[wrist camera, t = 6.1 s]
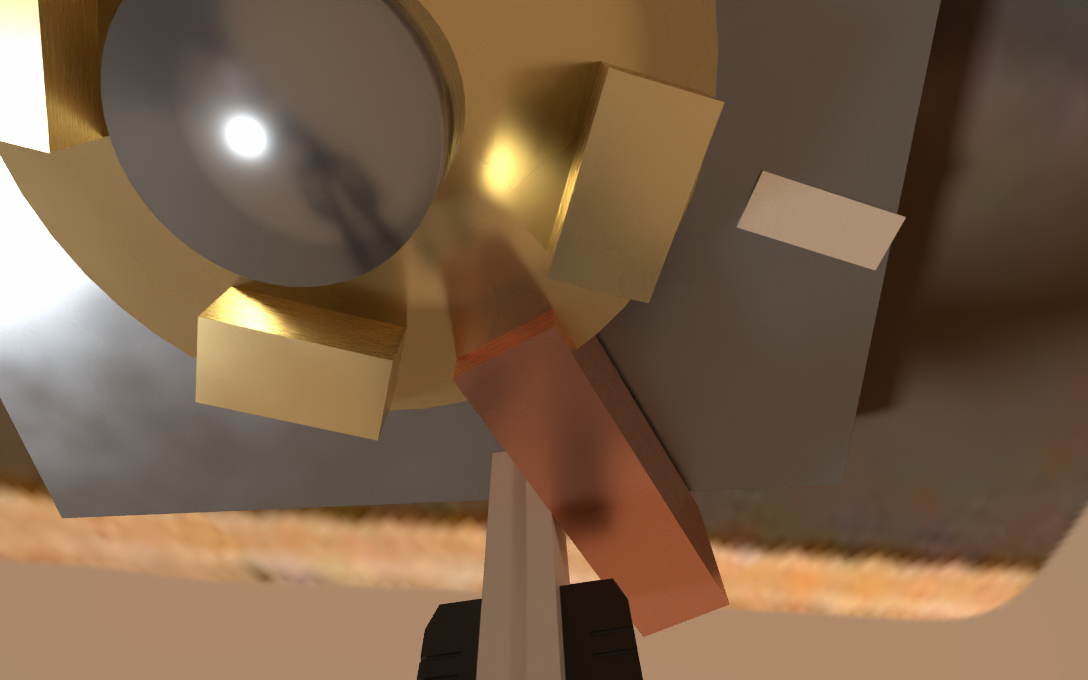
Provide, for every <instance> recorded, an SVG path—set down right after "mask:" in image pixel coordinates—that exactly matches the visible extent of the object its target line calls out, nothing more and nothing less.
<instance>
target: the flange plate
mask: <svg viewBox="0 0 1088 680" xmlns="http://www.w3.org/2000/svg"><path fill="white" fill-rule="evenodd" d="M940 3H941V0H715V5H716V21H717V36H718V63H717V81H716V98H717V99H719V100H721V101H723V102H725V103H724V105H723V108H722V111H721V113H720V116H719V118H718V121H717V124H716V126H715V129H714V132H713V134H712V137H711V140H710V142H709V145H708V148H707V150H706V154H705V157H704V160H703V163H702V167H701V170H700V173H699V176H698V179H697V183H696V186H695V189H694V192H693V196H692V198H691V200H690V202H689V205H688V207H687V209H686V211H685V213H684V216H683V218H682V220H681V222H680V224H679V227H678V229H677V231H676V233H675V236H674V238H673V240H672V243H671V246H670V248H669V251H668V254H667V256H666V259H665V262H664V264H663V267H662V270H661V272H660V275H659V278H658V280H657V283H656V286H655V288H654V291H653V293H652V296H651V299H650V301H649V303H645V302H641V301H637V300H633V299H631V300H630V301H629V302H628V304H627V305H626V306H625V307H624V308H623V309H622V310H621V311H620V312H619V313H618V314H617V315H616V316H615V317H614V318H613V319H612V320H611V321H610V322H609V323H608V324H607V325H606V326H605V327H604V328H603V329H602V330H600V331H599V332H598V333H597V334H596V335H595V336H596V337H597V339H598V341H599V342H600V344H601V346H602V347H603V349H604V351H605V352H606V354H607V356H608V357H609V359H610V361H611V362H612V364H613V366H614V367H615V369H616V371H617V372H618V374H619V376H620V377H621V379H622V381H623V382H624V384H625V386H626V387H627V389H628V391H629V392H630V394H631V396H632V397H633V399H634V401H635V402H636V404H637V406H638V407H639V409H640V411H641V412H642V414H643V416H644V417H645V419H646V421H647V422H648V424H649V426H650V427H651V429H652V431H653V432H654V434H655V436H656V437H657V439H658V440H659V442H660V444H661V445H662V447H663V449H664V450H665V452H666V454H667V455H668V457H669V459H670V460H671V462H672V464H673V465H674V467H675V469H676V470H677V472H678V474H679V475H680V477H681V479H682V480H683V482H684V484H685V485H686V487H687V489H688V490H689V491H704V490H727V489H750V488H773V487H796V486H820V485H842V480H843V475H844V470H845V465H846V460H847V456H848V451H849V446H850V441H851V436H852V431H853V426H854V422H855V417H856V412H857V407H858V402H859V397H860V392H861V387H862V383H863V378H864V373H865V368H866V363H867V358H868V353H869V348H870V344H871V339H872V334H873V329H874V324H875V319H876V314H877V309H878V305H879V300H880V295H881V290H882V285H883V280H884V275H885V270H886V266H887V261H888V256H889V251H890V246H891V243H892V241H893V239H894V237H895V236H896V234H897V232H898V230H899V229H900V227H901V225H902V224H903V222H904V220H905V218H906V217H905V216H902V215H899V214H897V212H898V207H899V202H900V197H901V193H902V188H903V183H904V178H905V173H906V168H907V163H908V158H909V154H910V149H911V144H912V139H913V134H914V129H915V124H916V119H917V115H918V110H919V105H920V100H921V95H922V90H923V85H924V80H925V76H926V71H927V66H928V61H929V56H930V51H931V46H932V41H933V37H934V32H935V27H936V22H937V17H938V12H939V7H940ZM101 99H102V105H103V112H104V118H105V122H106V126H107V129H108V133H109V136H110V140H111V143H112V145H113V148H114V150H115V153H116V155H117V158H118V160H119V162H120V165H121V167H122V168H123V170H124V172H125V174H126V176H127V177H128V179H129V181H130V183H131V185H132V186H133V188H134V189H135V191H136V192H137V193H138V195H139V196H140V198H141V199H142V201H143V202H144V204H145V205H146V206H147V207H148V208H149V209H150V211H151V212H152V213H153V214H154V215H155V216H156V218H157V219H158V220H159V221H160V222H161V223H162V224H163V225H164V226H165V227H166V228H167V229H168V230H169V231H170V232H171V233H172V234H173V235H174V236H176V237H177V238H178V239H179V240H181V241H182V242H183V243H184V244H186V245H187V246H188V247H190V248H191V249H192V250H193V251H195V252H196V253H198V254H200V255H201V256H203V257H204V258H206V259H208V260H209V261H211V262H212V263H214V264H216V265H218V266H221V267H223V268H225V269H227V270H229V271H231V272H233V273H236V274H238V275H241V276H244V277H247V278H249V279H252V280H256V281H261V282H265V283H269V284H274V285H281V286H289V287H315V286H324V285H331V284H335V283H339V282H343V281H347V280H350V279H353V278H355V277H358V276H360V275H363V274H365V273H367V272H369V271H371V270H372V269H374V268H376V267H378V266H379V265H381V264H382V263H384V262H385V261H386V260H388V259H389V258H390V257H392V256H393V255H394V254H395V253H396V252H397V251H398V250H399V249H400V248H401V247H402V246H403V245H404V244H405V243H406V242H407V241H408V240H409V239H410V237H411V236H412V235H413V233H414V232H415V231H416V229H417V228H418V226H419V225H420V223H421V221H422V220H423V218H424V216H425V214H426V213H427V211H428V209H429V207H430V205H431V204H432V202H433V200H434V198H435V196H436V195H437V193H438V191H439V189H440V187H441V186H442V184H443V182H444V180H445V178H446V177H447V175H448V173H449V171H450V169H451V167H452V165H453V164H454V162H455V159H456V157H457V154H458V151H459V148H460V146H461V141H462V137H463V132H464V124H465V94H464V88H463V82H462V77H461V74H460V70H459V67H458V63H457V60H456V58H455V55H454V53H453V51H452V48H451V46H450V44H449V42H448V40H447V38H446V37H445V35H444V33H443V31H442V30H441V28H440V26H439V25H438V24H437V22H436V21H435V20H434V18H433V17H432V16H431V14H430V13H429V12H428V11H427V10H426V8H425V7H424V6H423V5H422V4H421V3H420V2H419V1H418V0H123V1H122V2H121V4H120V6H119V7H118V9H117V11H116V13H115V16H114V18H113V20H112V23H111V25H110V27H109V30H108V34H107V37H106V41H105V45H104V49H103V55H102V64H101ZM196 367H197V360H196V359H194V358H192V357H191V356H189V355H188V354H186V353H184V352H183V351H181V350H180V349H178V348H177V347H175V346H173V345H172V344H170V343H169V342H167V341H165V340H164V339H162V338H161V337H159V336H157V335H156V334H154V333H153V332H152V331H151V330H149V329H148V328H147V327H145V326H144V325H143V324H142V323H140V322H139V321H138V320H136V319H135V318H134V317H133V316H131V315H130V314H129V313H127V312H126V311H125V310H123V309H122V308H121V307H120V306H118V305H117V304H116V303H115V302H114V301H113V300H112V299H111V298H110V297H109V296H108V295H107V294H106V293H105V292H104V291H102V290H101V289H100V288H99V287H98V286H97V285H96V284H95V283H94V282H93V281H92V280H91V279H90V278H89V277H88V276H87V275H86V274H84V272H83V271H82V270H81V269H80V268H79V267H78V266H77V264H76V263H75V262H74V261H73V260H72V259H71V258H70V256H69V255H68V254H67V253H66V252H65V251H64V250H63V248H62V247H61V246H60V245H59V244H58V243H57V242H56V240H55V239H54V238H53V237H52V236H51V234H50V233H49V232H48V230H47V229H46V227H45V226H44V225H43V223H42V222H41V220H40V219H39V218H38V216H37V215H36V213H35V212H34V211H33V209H32V208H31V206H30V205H29V204H28V202H27V201H26V199H25V198H24V197H23V195H22V194H21V192H20V190H19V188H18V187H17V185H16V183H15V181H14V180H13V178H12V176H11V174H10V172H9V171H8V169H7V167H6V165H5V164H4V162H3V160H2V158H1V157H0V398H1V400H2V402H3V404H4V406H5V408H6V410H7V411H8V413H9V415H10V417H11V419H12V421H13V423H14V425H15V427H16V429H17V431H18V433H19V435H20V437H21V439H22V441H23V443H24V445H25V446H26V448H27V450H28V452H29V454H30V456H31V458H32V460H33V462H34V464H35V466H36V468H37V470H38V472H39V474H40V476H41V478H42V480H43V481H44V483H45V485H46V487H47V489H48V491H49V493H50V495H51V497H52V499H53V501H54V503H55V505H56V507H57V509H58V511H59V513H60V515H61V516H62V518H78V517H102V516H125V515H148V514H171V513H194V512H217V511H241V510H264V509H287V508H310V507H333V506H356V505H380V504H403V503H426V502H449V501H472V500H489V495H490V481H491V468H492V454H493V453H499V452H505V450H504V448H503V447H502V446H501V444H500V443H499V442H498V440H497V439H496V438H495V436H494V435H493V434H492V432H491V431H490V429H489V428H488V427H487V425H486V424H485V423H484V421H483V420H482V419H481V417H480V416H479V415H478V413H477V412H476V411H475V409H474V408H473V407H472V405H471V404H470V403H469V401H468V400H467V401H464V402H460V403H454V404H448V405H442V406H436V407H431V408H425V409H407V410H389V412H388V415H387V418H386V420H385V423H384V426H383V428H382V431H381V434H380V436H379V439H378V441H377V440H373V439H368V438H363V437H358V436H354V435H349V434H344V433H340V432H335V431H330V430H325V429H321V428H316V427H311V426H306V425H302V424H297V423H292V422H287V421H283V420H278V419H273V418H269V417H264V416H259V415H254V414H250V413H245V412H240V411H235V410H231V409H226V408H221V407H216V406H212V405H207V404H202V403H198V402H195V401H196Z"/></svg>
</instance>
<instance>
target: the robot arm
mask: <svg viewBox="0 0 1088 680" xmlns="http://www.w3.org/2000/svg"><path fill="white" fill-rule="evenodd" d="M417 680H643V678H642V672H641V667H640V661H639V656H638V651H637V645H636V639H635V634H634V629H633V623H632V618H631V612H630V607H629V601H628V598H627V597H626V596H625V594H624V593H623V592H622V590H621V589H620V587H619V586H618V585H617V583H616V582H615V580H614V579H613V578H611V579H604V580H597V581H590V582H583V583H576V584H570V581H569V569H568V557H567V545H566V535H565V530H564V529H563V528H562V526H561V525H560V524H559V522H558V521H557V520H556V518H555V517H554V516H553V514H552V513H551V510H549V509H548V508H547V506H546V505H545V504H544V502H543V501H542V500H541V498H540V497H539V495H538V494H537V493H536V491H535V490H534V489H533V487H532V486H531V485H530V483H529V482H528V481H527V479H526V478H525V477H524V475H523V474H522V473H521V471H520V470H519V469H518V467H517V466H516V464H515V463H514V462H513V460H512V459H511V458H510V456H509V455H508V454H507V452H506V451H505V452H499V453H493V454H492V468H491V481H490V495H489V509H488V523H487V536H486V550H485V564H484V578H483V592H482V599H476V600H469V601H462V602H455V603H448V604H441V605H439V607H438V608H437V610H436V612H435V613H434V615H433V617H432V619H431V620H430V622H429V624H428V625H427V627H426V629H425V633H424V639H423V645H422V652H421V662H420V663H419V670H418V676H417Z"/></svg>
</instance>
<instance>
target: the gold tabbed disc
mask: <svg viewBox="0 0 1088 680" xmlns="http://www.w3.org/2000/svg"><path fill="white" fill-rule="evenodd" d="M122 1H123V0H0V157H1V158H2V160H3V162H4V164H5V165H6V167H7V169H8V171H9V172H10V174H11V176H12V178H13V180H14V181H15V183H16V185H17V187H18V188H19V190H20V192H21V194H22V195H23V197H24V198H25V199H26V201H27V202H28V204H29V205H30V206H31V208H32V209H33V211H34V212H35V213H36V215H37V216H38V218H39V219H40V220H41V222H42V223H43V225H44V226H45V227H46V229H47V230H48V232H49V233H50V234H51V236H52V237H53V238H54V239H55V240H56V242H57V243H58V244H59V245H60V246H61V247H62V248H63V250H64V251H65V252H66V253H67V254H68V255H69V256H70V258H71V259H72V260H73V261H74V262H75V263H76V264H77V266H78V267H79V268H80V269H81V270H82V271H83V272H84V274H86V275H87V276H88V277H89V278H90V279H91V280H92V281H93V282H94V283H95V284H96V285H97V286H98V287H99V288H100V289H101V290H102V291H104V292H105V293H106V294H107V295H108V296H109V297H110V298H111V299H112V300H113V301H114V302H115V303H116V304H117V305H118V306H120V307H121V308H122V309H123V310H125V311H126V312H127V313H129V314H130V315H131V316H133V317H134V318H135V319H136V320H138V321H139V322H140V323H142V324H143V325H144V326H145V327H147V328H148V329H149V330H151V331H152V332H153V333H154V334H156V335H157V336H159V337H161V338H162V339H164V340H165V341H167V342H169V343H170V344H172V345H173V346H175V347H177V348H178V349H180V350H181V351H183V352H184V353H186V354H188V355H189V356H191V357H192V358H194V359H196V360H197V367H196V401H195V402H198V403H202V404H207V405H212V406H216V407H221V408H226V409H231V410H235V411H240V412H245V413H250V414H254V415H259V416H264V417H269V418H273V419H278V420H283V421H287V422H292V423H297V424H302V425H306V426H311V427H316V428H321V429H325V430H330V431H335V432H340V433H344V434H349V435H354V436H358V437H363V438H368V439H373V440H377V441H378V439H379V436H380V434H381V431H382V428H383V426H384V423H385V420H386V418H387V415H388V412H389V410H407V409H425V408H431V407H436V406H442V405H448V404H454V403H460V402H464V401H467V400H468V401H469V403H470V404H471V405H472V407H473V408H474V409H475V411H476V412H477V413H478V415H479V416H480V417H481V419H482V420H483V421H484V423H485V424H486V425H487V427H488V428H489V429H490V431H491V432H492V434H493V435H494V436H495V438H496V439H497V440H498V442H499V443H500V444H501V446H502V447H503V448H504V450H505V451H506V452H507V454H508V455H509V456H510V458H511V459H512V460H513V462H514V463H515V464H516V466H517V467H518V469H519V470H520V471H521V473H522V474H523V475H524V477H525V478H526V479H527V481H528V482H529V483H530V485H531V486H532V487H533V489H534V490H535V491H536V493H537V494H538V495H539V497H540V498H541V500H542V501H543V502H544V504H545V505H546V506H547V508H548V509H549V510H551V513H552V514H553V516H554V517H555V518H556V520H557V521H558V522H559V524H560V525H561V526H562V528H563V529H564V530H565V532H566V533H567V535H568V536H569V537H570V539H571V540H572V541H573V543H574V544H575V545H576V547H577V548H578V549H579V551H580V552H581V553H582V555H583V556H584V557H585V559H586V560H587V561H588V563H589V564H590V565H591V567H592V568H593V570H594V571H595V572H596V574H597V575H598V576H599V578H600V579H601V580H604V579H611V578H613V579H614V580H615V582H616V583H617V585H618V586H619V587H620V589H621V590H622V592H623V593H624V594H625V596H626V597H627V598H628V601H629V607H630V612H631V618H632V622H633V623H634V625H635V626H636V627H637V629H638V630H639V631H640V633H641V634H642V636H643V637H645V636H648V635H650V634H653V633H655V632H658V631H661V630H663V629H666V628H669V627H671V626H674V625H676V624H679V623H682V622H684V621H687V620H689V619H692V618H695V617H697V616H700V615H703V614H706V613H708V612H711V611H713V610H716V609H719V608H721V607H724V606H727V605H729V601H728V598H727V595H726V592H725V589H724V586H723V583H722V579H721V576H720V573H719V570H718V567H717V564H716V561H715V558H714V554H713V551H712V548H711V545H710V542H709V539H708V536H707V533H706V529H705V526H704V523H703V520H702V517H701V514H700V511H699V508H698V505H697V504H696V502H695V500H694V499H693V497H692V495H691V494H690V492H689V490H688V489H687V487H686V485H685V484H684V482H683V480H682V479H681V477H680V475H679V474H678V472H677V470H676V469H675V467H674V465H673V464H672V462H671V460H670V459H669V457H668V455H667V454H666V452H665V450H664V449H663V447H662V445H661V444H660V442H659V440H658V439H657V437H656V436H655V434H654V432H653V431H652V429H651V427H650V426H649V424H648V422H647V421H646V419H645V417H644V416H643V414H642V412H641V411H640V409H639V407H638V406H637V404H636V402H635V401H634V399H633V397H632V396H631V394H630V392H629V391H628V389H627V387H626V386H625V384H624V382H623V381H622V379H621V377H620V376H619V374H618V372H617V371H616V369H615V367H614V366H613V364H612V362H611V361H610V359H609V357H608V356H607V354H606V352H605V351H604V349H603V347H602V346H601V344H600V342H599V341H598V339H597V337H596V336H595V335H596V334H597V333H598V332H599V331H600V330H602V329H603V328H604V327H605V326H606V325H607V324H608V323H609V322H610V321H611V320H612V319H613V318H614V317H615V316H616V315H617V314H618V313H619V312H620V311H621V310H622V309H623V308H624V307H625V306H626V305H627V304H628V302H629V301H630V300H631V299H633V300H637V301H641V302H645V303H649V301H650V299H651V296H652V293H653V291H654V288H655V286H656V283H657V280H658V278H659V275H660V272H661V270H662V267H663V264H664V262H665V259H666V256H667V254H668V251H669V248H670V246H671V243H672V240H673V238H674V236H675V233H676V231H677V229H678V227H679V224H680V222H681V220H682V218H683V216H684V213H685V211H686V209H687V207H688V205H689V202H690V200H691V198H692V196H693V192H694V189H695V186H696V183H697V179H698V176H699V173H700V170H701V167H702V163H703V160H704V157H705V154H706V150H707V148H708V145H709V142H710V140H711V137H712V134H713V132H714V129H715V126H716V124H717V121H718V118H719V116H720V113H721V111H722V108H723V105H724V103H725V102H723V101H721V100H719V99H717V98H716V81H717V63H718V36H717V21H716V5H715V0H418V1H419V2H420V3H421V4H422V5H423V6H424V7H425V8H426V10H427V11H428V12H429V13H430V14H431V16H432V17H433V18H434V20H435V21H436V22H437V24H438V25H439V26H440V28H441V30H442V31H443V33H444V35H445V37H446V38H447V40H448V42H449V44H450V46H451V48H452V51H453V53H454V55H455V58H456V60H457V63H458V67H459V70H460V74H461V77H462V82H463V88H464V94H465V124H464V132H463V137H462V141H461V146H460V148H459V151H458V154H457V157H456V159H455V162H454V164H453V165H452V167H451V169H450V171H449V173H448V175H447V177H446V178H445V180H444V182H443V184H442V186H441V187H440V189H439V191H438V193H437V195H436V196H435V198H434V200H433V202H432V204H431V205H430V207H429V209H428V211H427V213H426V214H425V216H424V218H423V220H422V221H421V223H420V225H419V226H418V228H417V229H416V231H415V232H414V233H413V235H412V236H411V237H410V239H409V240H408V241H407V242H406V243H405V244H404V245H403V246H402V247H401V248H400V249H399V250H398V251H397V252H396V253H395V254H394V255H393V256H392V257H390V258H389V259H388V260H386V261H385V262H384V263H382V264H381V265H379V266H378V267H376V268H374V269H372V270H371V271H369V272H367V273H365V274H363V275H360V276H358V277H355V278H353V279H350V280H347V281H343V282H339V283H335V284H331V285H324V286H315V287H289V286H281V285H274V284H269V283H265V282H261V281H256V280H252V279H249V278H247V277H244V276H241V275H238V274H236V273H233V272H231V271H229V270H227V269H225V268H223V267H221V266H218V265H216V264H214V263H212V262H211V261H209V260H208V259H206V258H204V257H203V256H201V255H200V254H198V253H196V252H195V251H193V250H192V249H191V248H190V247H188V246H187V245H186V244H184V243H183V242H182V241H181V240H179V239H178V238H177V237H176V236H174V235H173V234H172V233H171V232H170V231H169V230H168V229H167V228H166V227H165V226H164V225H163V224H162V223H161V222H160V221H159V220H158V219H157V218H156V216H155V215H154V214H153V213H152V212H151V211H150V209H149V208H148V207H147V206H146V205H145V204H144V202H143V201H142V199H141V198H140V196H139V195H138V193H137V192H136V191H135V189H134V188H133V186H132V185H131V183H130V181H129V179H128V177H127V176H126V174H125V172H124V170H123V168H122V167H121V165H120V162H119V160H118V158H117V155H116V153H115V150H114V148H113V145H112V143H111V140H110V136H109V133H108V129H107V126H106V122H105V118H104V112H103V105H102V99H101V64H102V55H103V49H104V45H105V41H106V37H107V34H108V30H109V27H110V25H111V23H112V20H113V18H114V16H115V13H116V11H117V9H118V7H119V6H120V4H121V2H122Z"/></svg>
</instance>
